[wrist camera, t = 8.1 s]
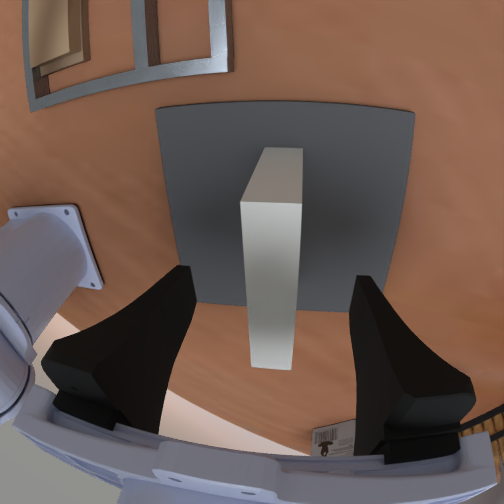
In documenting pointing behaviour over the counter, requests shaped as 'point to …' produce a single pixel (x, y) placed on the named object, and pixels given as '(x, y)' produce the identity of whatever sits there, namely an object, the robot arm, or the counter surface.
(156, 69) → the rack
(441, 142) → the counter surface
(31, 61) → the offcut stack
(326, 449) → the coffee box
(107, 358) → the robot arm
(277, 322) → the gray rectangular block
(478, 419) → the ammunition clip
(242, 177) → the mat
